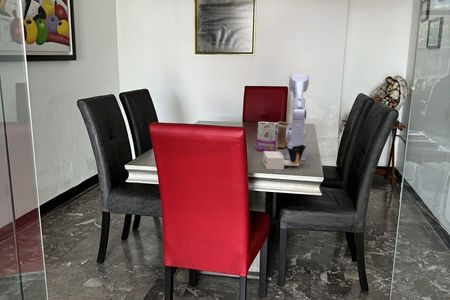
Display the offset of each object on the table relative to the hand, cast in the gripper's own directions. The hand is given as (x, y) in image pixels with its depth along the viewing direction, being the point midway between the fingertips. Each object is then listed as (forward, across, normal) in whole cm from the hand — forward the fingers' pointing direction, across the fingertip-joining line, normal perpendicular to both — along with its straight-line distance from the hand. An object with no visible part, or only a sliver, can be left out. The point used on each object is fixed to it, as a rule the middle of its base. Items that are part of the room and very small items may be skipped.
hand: (295, 160), depth 195 cm
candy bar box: (+3, -19, -28) cm, 33 cm away
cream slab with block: (+1, +4, -5) cm, 6 cm away
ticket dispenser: (+3, +7, -9) cm, 11 cm away
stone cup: (+3, -35, -28) cm, 45 cm away
